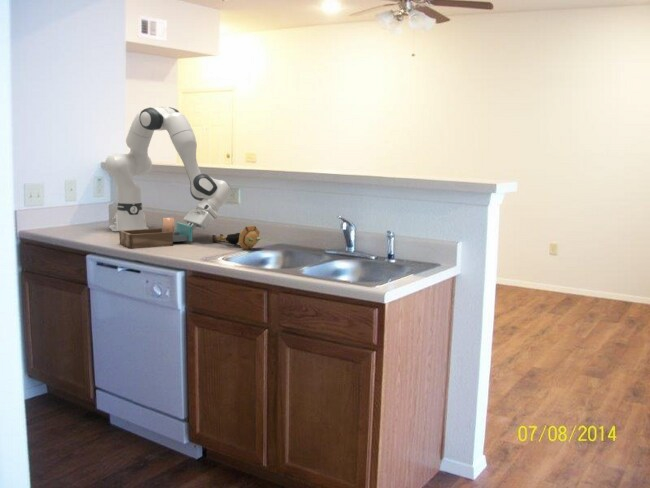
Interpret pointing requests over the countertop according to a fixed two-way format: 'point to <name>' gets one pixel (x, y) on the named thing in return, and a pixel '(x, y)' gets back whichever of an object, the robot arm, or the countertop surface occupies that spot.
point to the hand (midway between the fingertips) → (186, 231)
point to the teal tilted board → (183, 233)
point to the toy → (241, 237)
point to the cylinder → (168, 225)
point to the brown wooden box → (145, 238)
